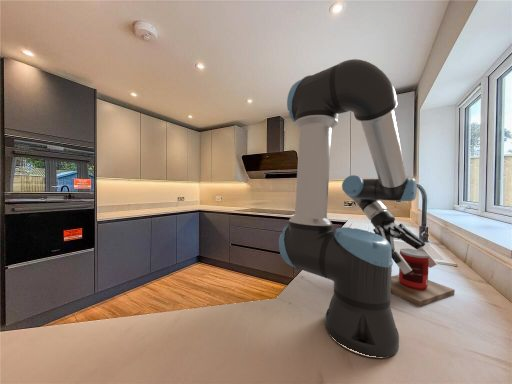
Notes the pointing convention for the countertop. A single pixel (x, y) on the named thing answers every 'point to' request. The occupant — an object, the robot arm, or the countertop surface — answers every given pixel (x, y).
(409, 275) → the canned food
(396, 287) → the walnut board
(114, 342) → the countertop surface
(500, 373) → the countertop surface
